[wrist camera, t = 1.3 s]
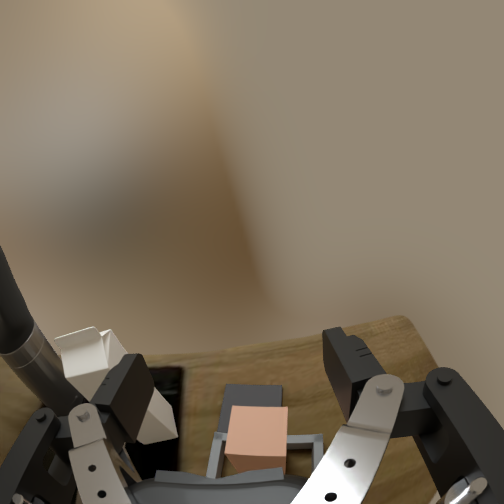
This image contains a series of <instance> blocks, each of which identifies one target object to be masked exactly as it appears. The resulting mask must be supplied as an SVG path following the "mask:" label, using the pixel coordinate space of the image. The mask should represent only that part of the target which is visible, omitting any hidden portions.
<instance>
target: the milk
mask: <svg viewBox="0 0 504 504" xmlns="http://www.w3.org/2000/svg"><path fill="white" fill-rule="evenodd" d="M54 341H55V343H56V344H57V345H58V347H59V348H60V351H61V357H62V363H63V369H64V374H65V378H66V379H67V380H68V381H69V382H70V383H71V384H72V385H73V386H74V387H75V388H76V389H77V390H78V391H79V392H80V393H81V394H82V395H83V396H84V397H85V398H86V399H87V400H88V401H91V399H92V397H93V396H94V394H95V392H96V391H97V389H98V388H99V386H100V385H101V383H102V381H103V380H104V379H105V376H106V375H107V373H108V372H109V370H111V369H112V368H113V367H114V366H115V365H117V364H119V362H120V360H121V359H122V357H123V356H124V355H125V354H128V353H127V352H126V350H125V349H124V347H123V346H122V345H121V343H120V342H119V340H118V339H117V337H116V336H115V334H114V333H113V332H112V330H111V329H110V330H106V331H103V332H100V333H99V331H98V330H97V329H96V328H95V327H90V328H87V329H83V330H80V331H77V332H74V333H70V334H68V335H64V336H61V337H58V338H55V339H54ZM177 437H178V434H177V430H176V426H175V421H174V416H173V411H172V407H171V406H170V404H169V403H168V402H167V401H166V400H165V399H164V398H163V397H162V395H161V394H160V393H159V392H158V391H157V390H156V388H155V387H154V393H153V395H152V398H151V401H150V403H149V406H148V409H147V411H146V414H145V417H144V419H143V422H142V425H141V428H140V430H139V433H138V436H137V440H138V441H140V442H141V443H143V444H149V443H155V442H160V441H164V440H169V439H173V438H177Z"/></svg>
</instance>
